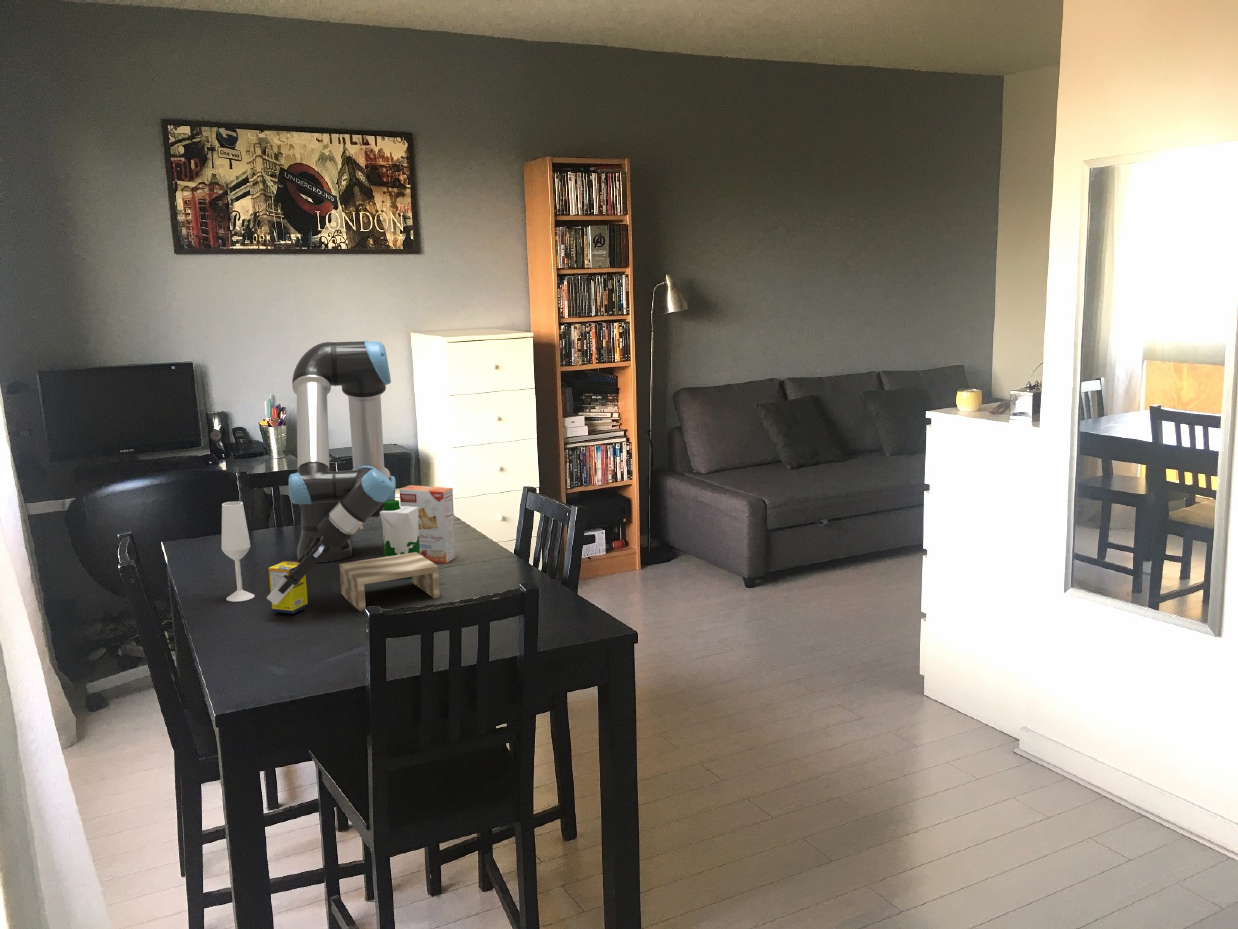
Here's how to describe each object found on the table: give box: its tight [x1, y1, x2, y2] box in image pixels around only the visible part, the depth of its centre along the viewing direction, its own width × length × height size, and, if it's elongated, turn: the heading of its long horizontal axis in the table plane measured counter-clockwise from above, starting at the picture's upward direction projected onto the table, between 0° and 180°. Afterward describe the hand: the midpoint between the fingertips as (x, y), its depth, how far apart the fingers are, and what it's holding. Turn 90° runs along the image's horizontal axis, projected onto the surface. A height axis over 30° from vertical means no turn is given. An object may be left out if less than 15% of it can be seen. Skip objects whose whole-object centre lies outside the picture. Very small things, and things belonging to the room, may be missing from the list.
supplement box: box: [268, 561, 309, 614], centre depth 229 cm, size 6×6×11 cm
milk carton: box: [380, 499, 420, 579], centre depth 259 cm, size 9×9×20 cm
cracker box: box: [399, 484, 457, 565], centre depth 273 cm, size 14×6×21 cm, turn 71°
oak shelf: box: [338, 552, 440, 612], centre depth 241 cm, size 16×20×8 cm
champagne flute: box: [221, 501, 255, 602], centre depth 240 cm, size 7×7×24 cm
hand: (274, 595), depth 229 cm, fingers closed on supplement box, 8 cm apart
